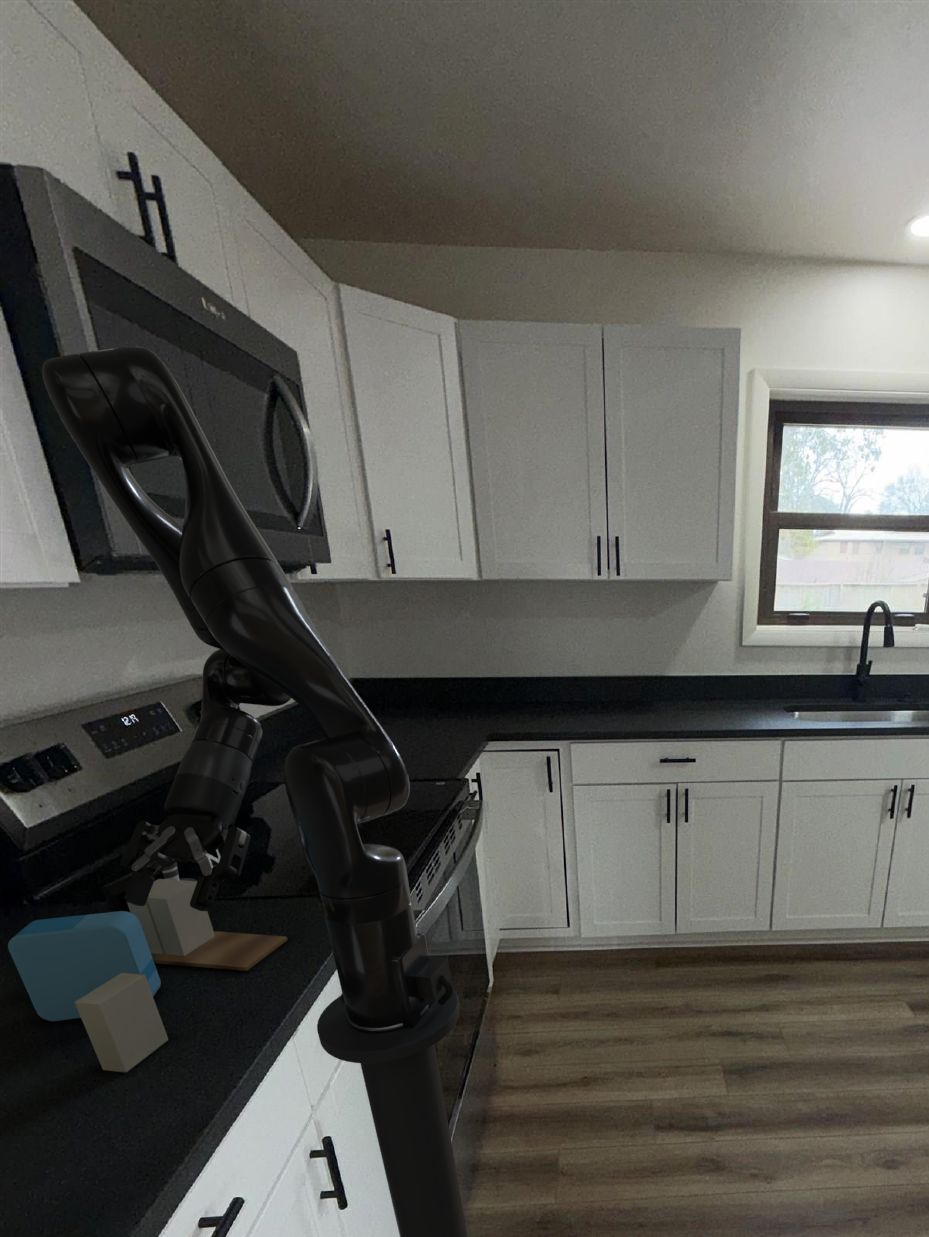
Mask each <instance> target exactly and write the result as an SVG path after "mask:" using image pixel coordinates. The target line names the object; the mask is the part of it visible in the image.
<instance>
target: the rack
mask: <svg viewBox="0 0 929 1237" xmlns="http://www.w3.org/2000/svg"><path fill="white" fill-rule="evenodd" d="M153 863H155V861H153V862H151V863H150V864H149V865H148V866H149V867H150V866H151V865H152V864H153ZM132 874H133V871H132V872H130V873H127V874H125V875H123V876H121V877H120V878H117V879H115V880H113V881H111V882H109V883H106V884H104V885H103V886H101V890H102V892H103V895H104V898H105V900H106V903H107V906H108V909H109V911H110V912H118V911H126V912H130V913H132V914H134V915H135V916H136V917H137V918H138V919H139V921H140V924H141V927H142V929H143V932H144V935H145V938H146V941H147V944H148V947H149V949H150V952H151V955H152V958H153V961H154V964H159V965H171V966H182V967H183V966H184V967H195V968H208V969H218V970H230V971H231V970H233V971H242V972H243V971H245V972H248V971H249V970H250V969H252V968H253V967H254V966H256V964H258V963H260V962H261V961H262V960H263V959H265V958H266V957H267V956H269V955H270V954H271V953H273V952H274V951H276V949H278V948H279V947H280V946H282V945H283V944H285V943H286V942H287V941H288V940H289V939H288V936H284V935H271V934H270V935H269V934H257V933H242V932H231V931H216V930H214V928H213V925H212V922H211V918H210V914H209V912H208V910H207V911H199V910H197V909H194V908H192V907H191V906H190V901H191V898H192V895H193V892H194V890H195V887H196V884H197V881H198V880H197V881H183V880H180V881H177V880H168V879H165V878H164V875H163V872H162V870H161V871H160V872H159V873H158V874H157V875H156V876H154V877H153V878H154V879H155V880H154V883H153V885H152V888H151V891H150V893H149V896H148V899H147V901H146V904H145V905H144V906H136V905H133V904H131V903H128V902H127V901H126V897H125V892H126V890H127V887H128V886H129V882H130V880H131V877H132Z"/></svg>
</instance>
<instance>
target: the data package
mask: <svg viewBox="0 0 929 1237" xmlns="http://www.w3.org/2000/svg"><path fill="white" fill-rule="evenodd" d="M7 949H8V952H9V954H10V956H11V959H12V961H13V963H14V965H15V967H16V969H17V972H18V974H19V976H20V978H21V981H22V983H23V985H24V987H25V990H26V992H27V994H28V996H29V998H30V1001H31V1003H32V1006H33V1007H34V1010H35V1012H36V1014H37V1015H38V1016H39V1017H40V1018H41V1019H43V1020H45V1021H48V1022H61V1021H69V1020H70V1021H71V1020H76V1019H81V1016H80V1014H79V1012H78V1009H77V1007H76V1004H75V1002H76V1001H77V1000H79V999H80V998H82V997H84V996H85V995H87V994H88V993H90V992H92V991H93V990H95V989H97V988H98V987H100V986H101V985H103V984H105V983H106V982H108V981H110V980H111V979H113V978H114V977H116V976H118V975H119V974H121V973H129V974H141V975H145V976H146V979H147V982H148V984H149V987H150V990H151V993H152V996H153V997H154V996H155V995H156V994H157V992H158V991H159V989H160V988H161V984H162V982H161V981H162V980H161V978H160V975H159V973H158V970H157V967H156V966H157V965H156V963H154V961H153V958H152V955H151V952H150V949H149V947H148V944H147V941H146V938H145V935H144V932H143V929H142V927H141V924H140V921H139V919H138V918H137V917H136V916H135V915H134V914H132V913H130V912H126V911H118V912H111V911H110V912H109V911H108V912H100V913H90V914H81V915H72V916H61V917H52V918H43V919H42V918H41V919H36V920H33V921H31V922H29V923H28V924H27V925H25V927H23V928H22V929H21V930H20V931H19V932H17V933H16V934H15V935H14V936H13V937H12V938H11V939H10V940H9V941H8V944H7Z"/></svg>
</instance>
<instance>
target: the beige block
mask: <svg viewBox="0 0 929 1237" xmlns="http://www.w3.org/2000/svg"><path fill="white" fill-rule="evenodd" d="M75 1004H76V1007H77V1009H78V1012H79V1014H80V1016H81V1018H80V1020H81V1021H82V1023H83V1026H84V1028H85V1030H86V1033H87V1035H88V1038H89V1040H90V1042H91V1045H92V1048H93V1050H94V1051H95V1052H94V1053H95V1055H96V1057H97V1059H98V1061H99V1064H100V1067H101V1069H102V1070H103V1071H109V1072H118V1073H128V1072H129V1071H130V1070H132V1069H133V1068H135V1066H137V1065H138V1064H140V1063H141V1062H142V1061H143V1060H144V1059H146V1058H147V1057H148V1056H150V1055H151V1054H153V1053H154V1052H156V1050H158V1049H159V1048H161V1046H163V1045H164V1044H165V1043H167V1042H168V1041H169V1037H168V1034H167V1031H166V1029H165V1025H164V1023H163V1021H162V1017H161V1015H160V1012H159V1010H158V1006H157V1004H156V1002H155V998H154V996H152V993H151V990H150V987H149V984H148V982H147V979H146V976H145V975H141V974H129V973H121V974H119V975H118V976H116V977H114V978H113V979H111V980H110V981H108V982H106V983H105V984H103V985H101V986H100V987H98V988H97V989H95V990H93V991H92V992H90V993H88V994H87V995H85V996H84V997H82V998H80V999H79V1000H77V1001H76V1002H75Z"/></svg>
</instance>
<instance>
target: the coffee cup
mask: <svg viewBox="0 0 929 1237" xmlns="http://www.w3.org/2000/svg"><path fill="white" fill-rule="evenodd" d="M154 862H156V861H154ZM162 872H163V875H164V878H165V879H168V880H177V881H180V880H183V881H198V879H195V878H190V877H182V878H181V877H180V875H179V868H178V862H176V863H174V864H173V865H172V866H170V867H165V868H164V869H163V870H162Z"/></svg>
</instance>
